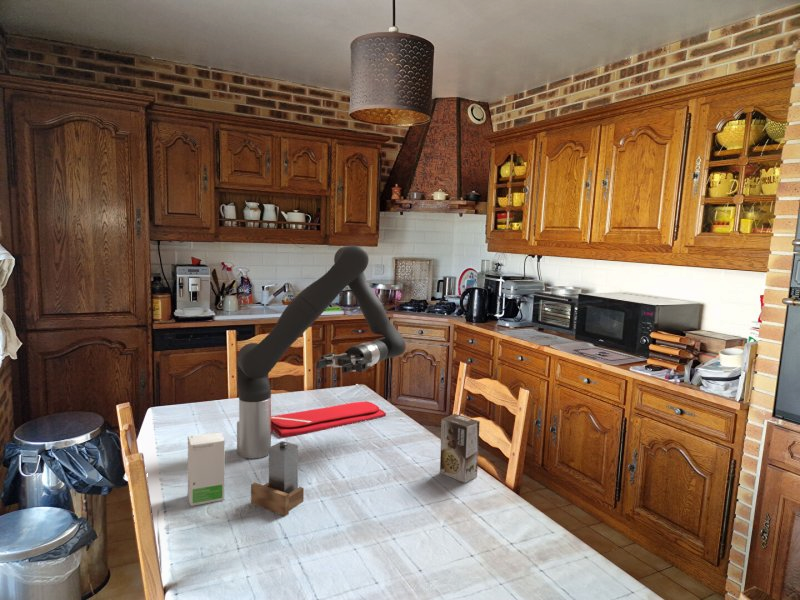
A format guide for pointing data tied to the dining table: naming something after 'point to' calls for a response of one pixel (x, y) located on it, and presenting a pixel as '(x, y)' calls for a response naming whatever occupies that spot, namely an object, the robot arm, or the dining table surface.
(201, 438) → the skincare box
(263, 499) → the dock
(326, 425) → the dish drying mat
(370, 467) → the dining table surface
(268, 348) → the robot arm
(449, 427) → the coffee box
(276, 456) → the brushed steel pillar
